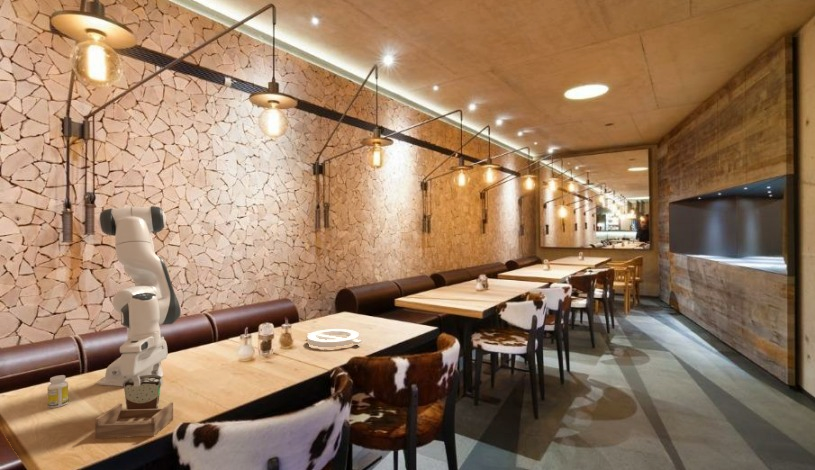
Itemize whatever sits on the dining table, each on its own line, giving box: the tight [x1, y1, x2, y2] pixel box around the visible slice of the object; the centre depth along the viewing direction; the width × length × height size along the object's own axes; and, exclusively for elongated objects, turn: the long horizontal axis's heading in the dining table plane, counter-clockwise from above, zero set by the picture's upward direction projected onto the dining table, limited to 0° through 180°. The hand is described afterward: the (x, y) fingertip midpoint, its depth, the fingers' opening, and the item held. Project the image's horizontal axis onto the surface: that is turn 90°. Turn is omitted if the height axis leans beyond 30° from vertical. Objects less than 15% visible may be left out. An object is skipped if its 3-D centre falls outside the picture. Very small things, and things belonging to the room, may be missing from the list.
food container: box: [121, 375, 164, 410], centre depth 136 cm, size 12×6×10 cm, turn 98°
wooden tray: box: [94, 402, 174, 439], centre depth 120 cm, size 10×17×6 cm, turn 93°
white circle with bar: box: [306, 328, 363, 347], centre depth 216 cm, size 28×28×5 cm
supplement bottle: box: [46, 374, 69, 409], centre depth 136 cm, size 5×5×10 cm
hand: (146, 380), depth 135 cm, fingers open, 8 cm apart
